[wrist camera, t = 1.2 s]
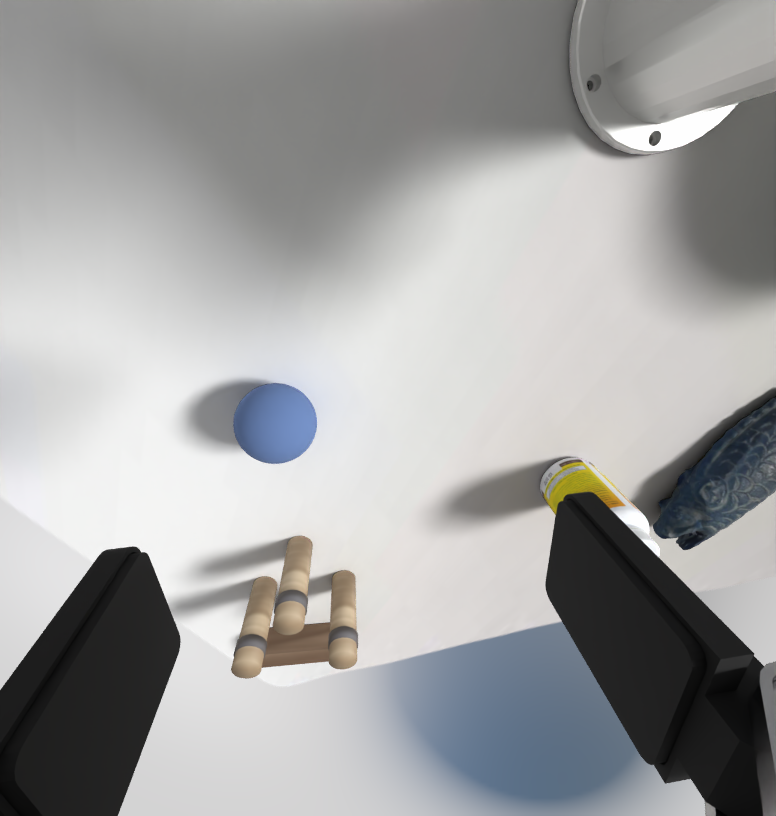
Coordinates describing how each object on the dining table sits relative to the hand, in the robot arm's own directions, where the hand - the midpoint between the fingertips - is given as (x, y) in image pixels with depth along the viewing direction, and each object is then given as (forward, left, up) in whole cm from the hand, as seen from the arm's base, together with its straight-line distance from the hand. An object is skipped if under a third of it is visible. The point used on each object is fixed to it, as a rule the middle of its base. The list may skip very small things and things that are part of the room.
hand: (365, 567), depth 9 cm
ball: (+6, -6, -20) cm, 22 cm away
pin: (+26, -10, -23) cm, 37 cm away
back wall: (+34, -6, -23) cm, 42 cm away
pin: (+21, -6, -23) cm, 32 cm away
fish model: (+13, +37, -24) cm, 46 cm away
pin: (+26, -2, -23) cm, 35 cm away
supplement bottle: (+15, +20, -24) cm, 35 cm away
